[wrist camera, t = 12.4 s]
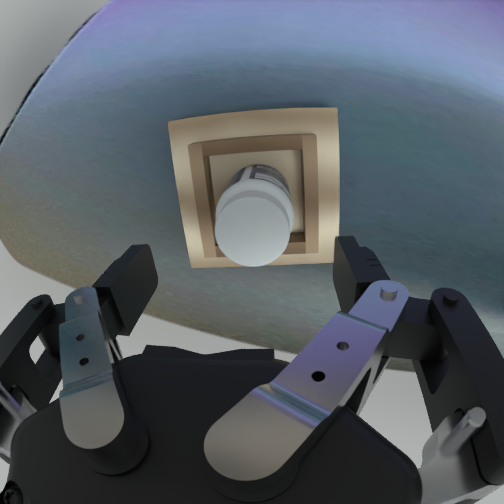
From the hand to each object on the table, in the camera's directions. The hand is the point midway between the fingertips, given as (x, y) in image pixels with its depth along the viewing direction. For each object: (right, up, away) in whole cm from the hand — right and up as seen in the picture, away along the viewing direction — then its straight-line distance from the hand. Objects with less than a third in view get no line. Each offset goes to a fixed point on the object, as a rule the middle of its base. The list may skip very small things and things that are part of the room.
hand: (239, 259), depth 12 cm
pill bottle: (+1, +5, +11) cm, 12 cm away
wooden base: (+1, +6, +13) cm, 15 cm away
